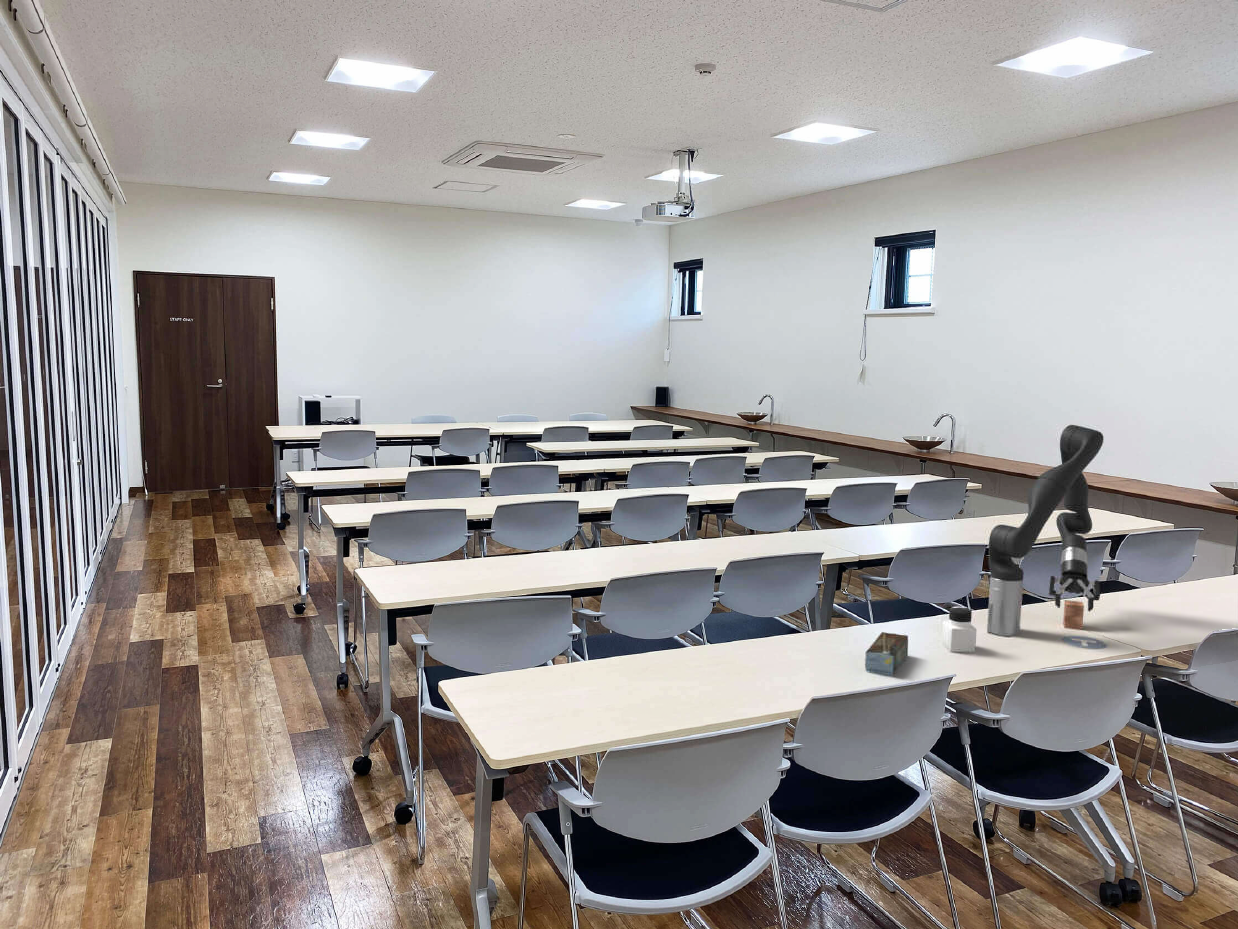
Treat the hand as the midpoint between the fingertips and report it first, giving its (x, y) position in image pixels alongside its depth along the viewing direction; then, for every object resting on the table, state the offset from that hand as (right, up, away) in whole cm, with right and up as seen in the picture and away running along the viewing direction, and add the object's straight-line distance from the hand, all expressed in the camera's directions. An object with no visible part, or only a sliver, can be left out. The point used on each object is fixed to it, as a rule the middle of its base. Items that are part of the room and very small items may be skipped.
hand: (1074, 608), depth 273 cm
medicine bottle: (-43, -9, -19) cm, 48 cm away
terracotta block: (0, -6, +2) cm, 7 cm away
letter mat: (-4, -8, -13) cm, 16 cm away
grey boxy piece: (-68, -11, -31) cm, 76 cm away
